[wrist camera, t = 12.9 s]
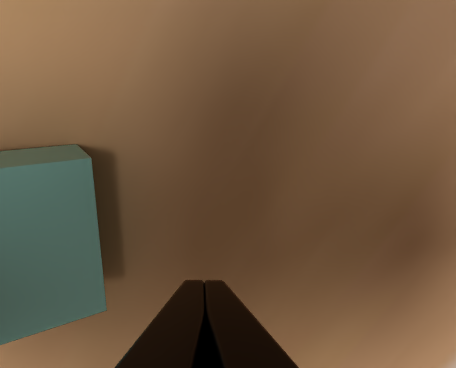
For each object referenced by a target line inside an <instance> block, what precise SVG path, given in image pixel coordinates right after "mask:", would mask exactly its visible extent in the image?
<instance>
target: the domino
mask: <svg viewBox="0 0 456 368" xmlns="http://www.w3.org/2000/svg"><path fill="white" fill-rule="evenodd" d="M104 311H107V308H106V298H105V288H104V278H103V268H102V259H101V249H100V239H99V229H98V219H97V209H96V200H95V190H94V180H93V170H92V160H91V157H90V156H89V155H88V154H86V153H85V152H84V151H83V150H82V149H81V148H80V147H79V146H78V145H77V144H72V145H62V146H51V147H40V148H29V149H18V150H7V151H0V345H2V344H5V343H8V342H11V341H15V340H18V339H21V338H24V337H27V336H30V335H33V334H36V333H39V332H42V331H45V330H48V329H51V328H54V327H57V326H61V325H64V324H67V323H70V322H73V321H76V320H79V319H82V318H85V317H88V316H91V315H94V314H97V313H100V312H104Z"/></svg>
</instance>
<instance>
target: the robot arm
mask: <svg viewBox="0 0 456 368" xmlns="http://www.w3.org/2000/svg"><path fill="white" fill-rule="evenodd" d="M115 368H299V367H298V366H297V365H296V364H295V363H294V362H293V360H292V359H291V358H290V357H289V356H288V355H287V354H286V352H285V351H284V350H283V349H282V348H281V347H280V346H279V344H278V343H277V342H276V341H275V340H274V339H273V337H272V336H271V335H270V334H269V333H268V332H267V331H266V329H265V328H264V327H263V326H262V325H261V324H260V323H259V321H258V320H257V319H256V318H255V317H254V316H253V315H252V313H251V312H250V311H249V310H248V309H247V308H246V306H245V305H244V304H243V303H242V302H241V301H240V300H239V298H238V297H237V296H236V295H235V294H234V293H233V292H232V290H231V289H230V288H229V287H228V286H227V285H226V284H225V282H224V281H222V280H206V281H205V282H203V281H202V280H185V281H184V282H183V283H182V285H181V286H180V287H179V288H178V290H177V291H176V292H175V293H174V295H173V296H172V297H171V298H170V300H169V301H168V302H167V303H166V304H165V306H164V307H163V308H162V309H161V311H160V312H159V313H158V314H157V316H156V317H155V318H154V319H153V321H152V322H151V323H150V324H149V326H148V327H147V328H146V329H145V331H144V332H143V333H142V334H141V336H140V337H139V338H138V339H137V341H136V342H135V343H134V344H133V346H132V347H131V348H130V349H129V351H128V352H127V353H126V354H125V356H124V357H123V358H122V359H121V361H120V362H119V363H118V364H117V365H116V367H115Z"/></svg>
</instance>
